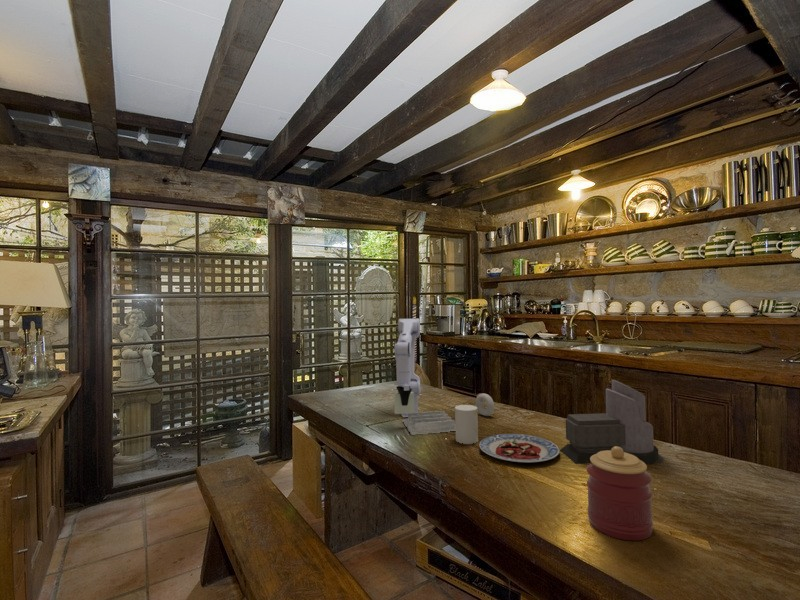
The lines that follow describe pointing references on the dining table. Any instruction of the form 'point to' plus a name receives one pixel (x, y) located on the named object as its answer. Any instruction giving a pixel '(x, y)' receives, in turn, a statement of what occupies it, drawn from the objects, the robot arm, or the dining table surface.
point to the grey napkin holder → (612, 428)
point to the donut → (489, 403)
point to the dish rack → (429, 422)
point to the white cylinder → (466, 424)
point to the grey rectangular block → (403, 409)
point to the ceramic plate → (519, 448)
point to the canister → (619, 495)
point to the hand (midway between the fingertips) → (404, 404)
